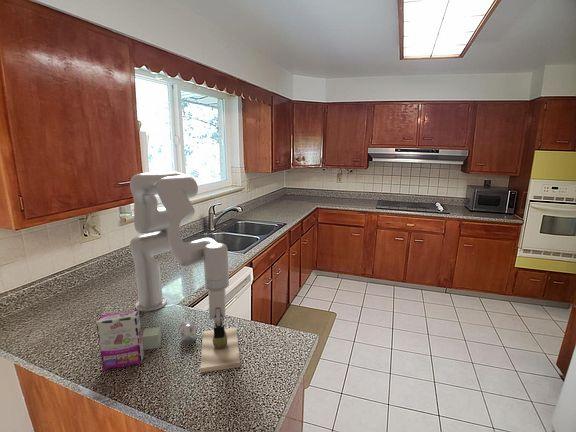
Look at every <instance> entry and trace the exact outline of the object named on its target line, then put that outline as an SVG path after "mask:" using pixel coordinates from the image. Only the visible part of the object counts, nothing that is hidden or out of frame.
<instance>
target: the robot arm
mask: <svg viewBox="0 0 576 432" xmlns="http://www.w3.org/2000/svg"><path fill="white" fill-rule="evenodd" d="M129 188H130V192H131V195H132V198H133V222H134V223H133V224H134V229H135V231H136V232H138V233H139V235H137V236H135V237H133V238H132V239H131V240H130V243H129V248H130V252H131V255H132V258H133V264H134V270H135V279H136V289H137V297H138V301H136V303H135V310H136V311H137V310H139V312H143V313H144V312H152V311H157V310H159V309H161V308H164V306H166V304H167V302H168V301H167V300H168V299H167V297H165V296H163V288H162V286H163V285H162V275H161V265H160V262H159V261H158V260H156V259H155V258H154V256H157V255H160V254H164V253H167V252H171V253H172V255H173V257H174V259H175V260H176V262H177V263H178V264H179V265H180V266H182V267H190V266H193V265H196V264H199V263H203V269H204V270H203V272H204V274H203V275H204V286H205V287H204V288H205V289H206V290H208V310H209V311H208V312H209V313H208V314H209V320H210V321H212V320H214V321H213V325H214V326H213V330H214V338H223V337H225V335H224V329H225V325H224V320H225V317H226V303H227V302H226V298H227V297H226V289H227V288H228V287H229V286H230V280H229V277H230V276H229V255H228V254H229V253H228V247H227V244H225V243H223V242H218V241H217V240H216V239H215V238H212V237H203V238H200V239H194V240H191V241H187V242H184V240H183V239H182V237H181V235H180V227H181V226H183V225H185V224H186V223H187V222H189V221H190V220H191V219H192V218H193V217H194V215H195V214H196V213H195V212H196V211H195V208H194V206H193V204H192V202H191V201H190V199H191V198H194V197H196V196H197V194H198V192H199V187H198V183H197V181H196V180H195V178H194V177H192V176H191V175H189V174H185V173H181V172H178V171H154V172H143V173H142V172H141V173H136V174H133V176H132V177H131V179H130V181H129ZM156 195H157V196H158V197H159V199H160V201H161V203H162V206H163V207H158V199H157V196H156ZM220 315H222V317H220ZM220 319H221V322H220Z"/></svg>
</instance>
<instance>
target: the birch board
mask: <svg viewBox="0 0 576 432" xmlns="http://www.w3.org/2000/svg"><path fill="white" fill-rule="evenodd" d="M224 329H225V332H226V335H227V344H226V346H224V347H223V348H221V349H218V348H216V347H215V346H214V345H213V342H212V340H213V336H214V329H212V330H204V331H202V339H201V340H202V343H201V352H200V353H201V354H200V366H199V367H200V373H206V372H212V371H220V370H227V369H234V368H241V359H240V349H239V339H238V330H237V327H229V328H224Z"/></svg>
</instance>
